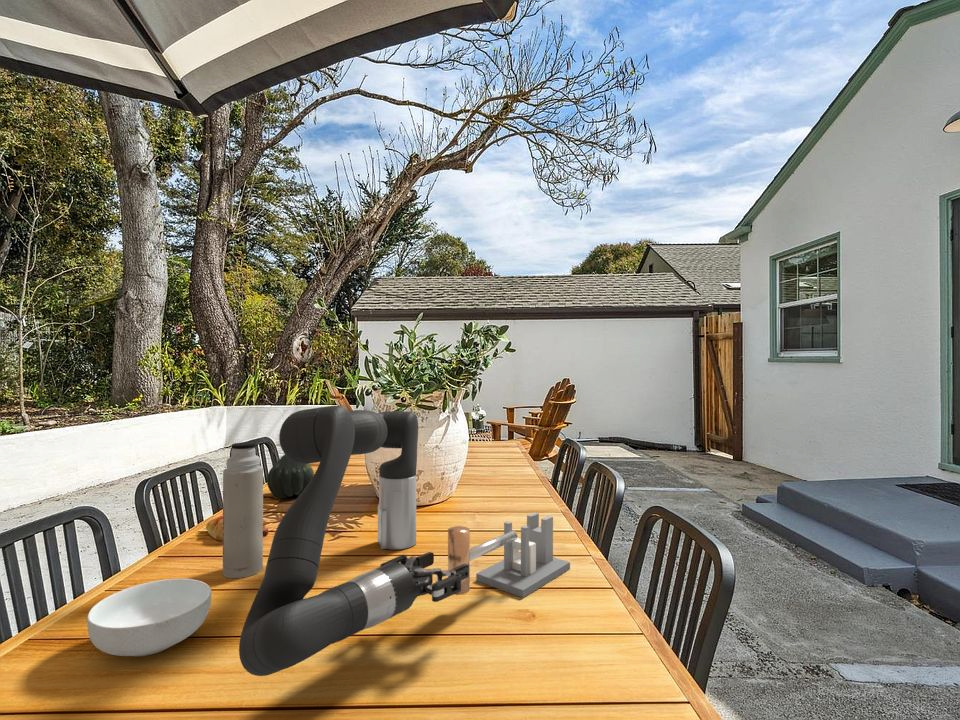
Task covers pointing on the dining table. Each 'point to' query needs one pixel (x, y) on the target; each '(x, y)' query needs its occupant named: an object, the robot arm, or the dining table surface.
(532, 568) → the block
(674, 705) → the dining table surface
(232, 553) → the thermos bottle
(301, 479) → the squash
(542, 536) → the shaft bracket
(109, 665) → the dining table surface
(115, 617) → the cereal bowl
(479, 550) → the shaft
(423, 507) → the dining table surface
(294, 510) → the robot arm
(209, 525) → the croissant
